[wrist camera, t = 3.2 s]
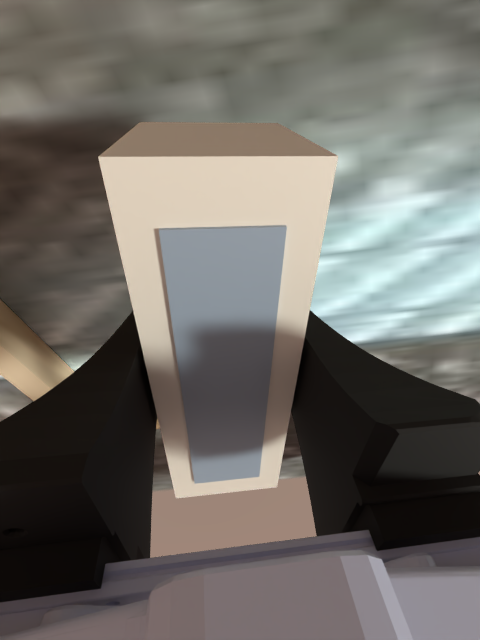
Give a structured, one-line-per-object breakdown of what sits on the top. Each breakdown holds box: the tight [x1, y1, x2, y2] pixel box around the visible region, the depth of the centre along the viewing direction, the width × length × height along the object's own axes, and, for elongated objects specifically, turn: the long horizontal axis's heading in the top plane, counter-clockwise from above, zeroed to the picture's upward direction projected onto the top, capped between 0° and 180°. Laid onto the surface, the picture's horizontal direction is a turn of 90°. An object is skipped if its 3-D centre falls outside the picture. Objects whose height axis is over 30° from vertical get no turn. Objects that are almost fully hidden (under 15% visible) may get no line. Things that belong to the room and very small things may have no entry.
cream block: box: [98, 122, 338, 498], centre depth 11 cm, size 12×4×5 cm, turn 179°
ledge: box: [0, 299, 160, 429], centre depth 15 cm, size 22×7×4 cm, turn 19°
